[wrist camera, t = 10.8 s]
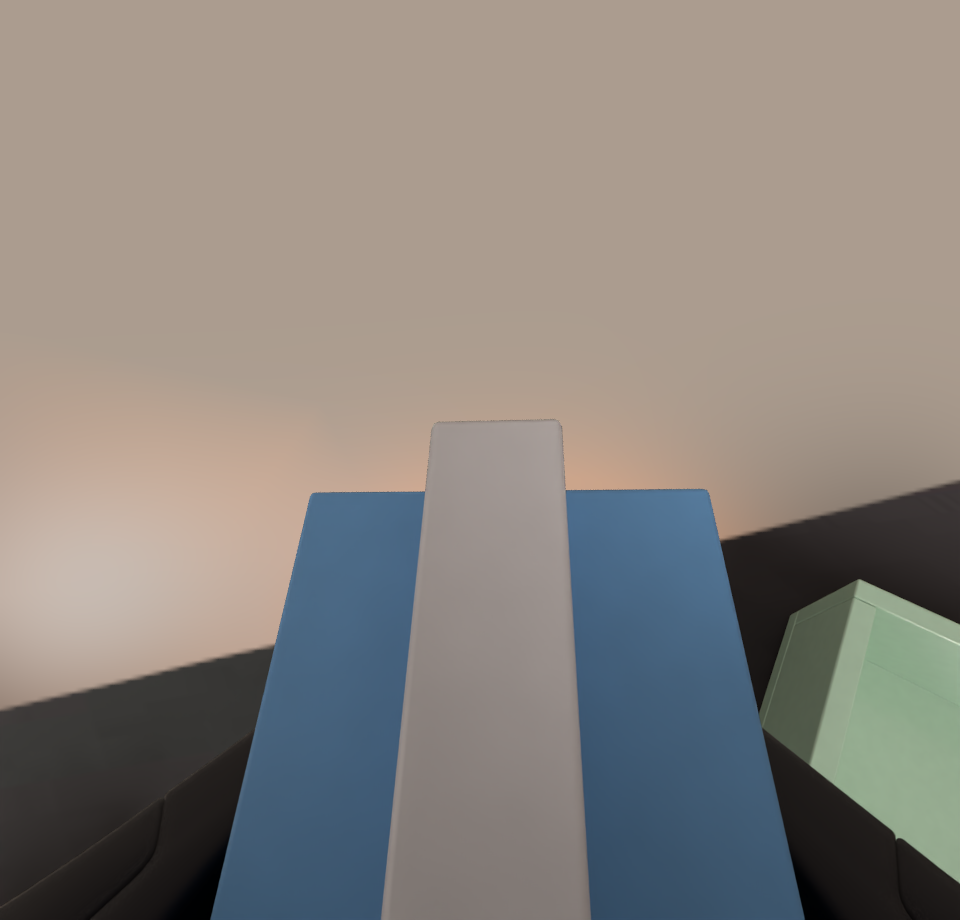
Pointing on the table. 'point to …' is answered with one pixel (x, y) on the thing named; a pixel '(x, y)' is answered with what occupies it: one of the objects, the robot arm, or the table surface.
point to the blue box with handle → (508, 708)
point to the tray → (876, 710)
